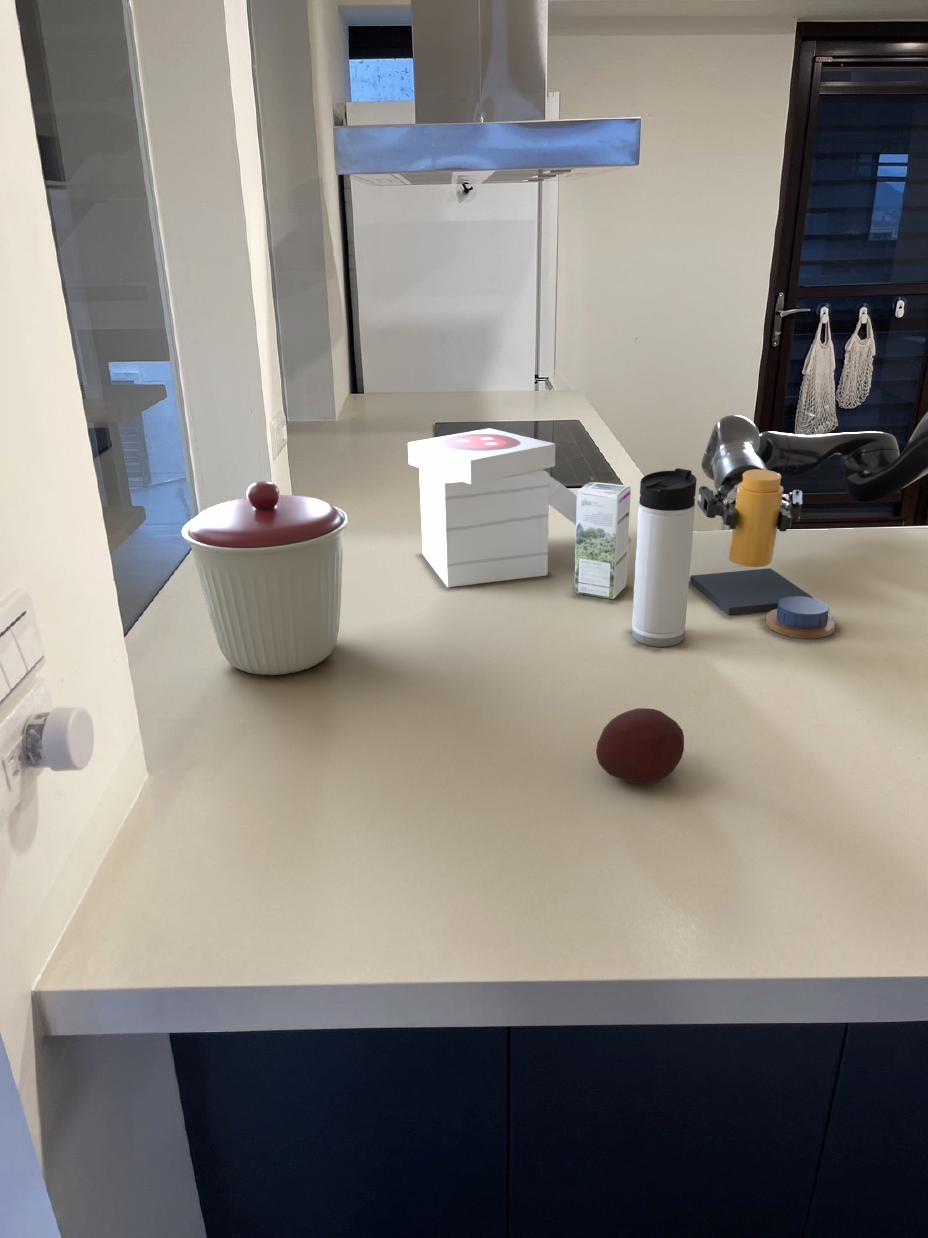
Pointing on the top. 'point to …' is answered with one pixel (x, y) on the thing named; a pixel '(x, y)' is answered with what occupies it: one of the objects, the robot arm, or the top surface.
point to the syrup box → (602, 539)
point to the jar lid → (802, 612)
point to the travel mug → (663, 557)
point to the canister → (271, 577)
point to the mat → (746, 590)
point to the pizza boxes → (487, 505)
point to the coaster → (799, 632)
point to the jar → (756, 518)
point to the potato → (640, 746)
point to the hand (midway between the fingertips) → (759, 523)
